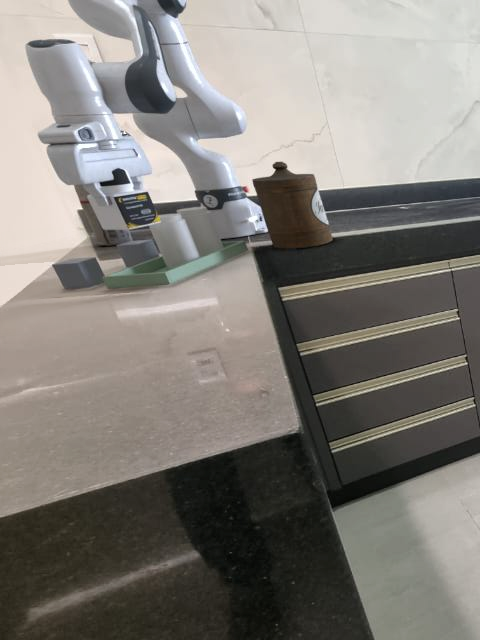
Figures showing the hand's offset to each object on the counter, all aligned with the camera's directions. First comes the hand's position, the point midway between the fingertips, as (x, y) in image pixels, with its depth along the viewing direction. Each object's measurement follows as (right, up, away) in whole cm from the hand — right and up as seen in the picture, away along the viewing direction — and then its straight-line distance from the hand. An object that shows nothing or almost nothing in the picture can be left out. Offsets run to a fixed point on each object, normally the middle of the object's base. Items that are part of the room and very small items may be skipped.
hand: (123, 202), depth 112 cm
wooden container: (+14, -1, +38) cm, 41 cm away
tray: (-1, -11, +16) cm, 20 cm away
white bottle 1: (-1, -11, +16) cm, 20 cm away
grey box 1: (-13, -17, +5) cm, 22 cm away
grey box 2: (-15, -10, +21) cm, 28 cm away
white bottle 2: (-2, -7, +25) cm, 26 cm away
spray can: (-51, +2, +50) cm, 71 cm away
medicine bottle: (0, -5, +3) cm, 5 cm away
